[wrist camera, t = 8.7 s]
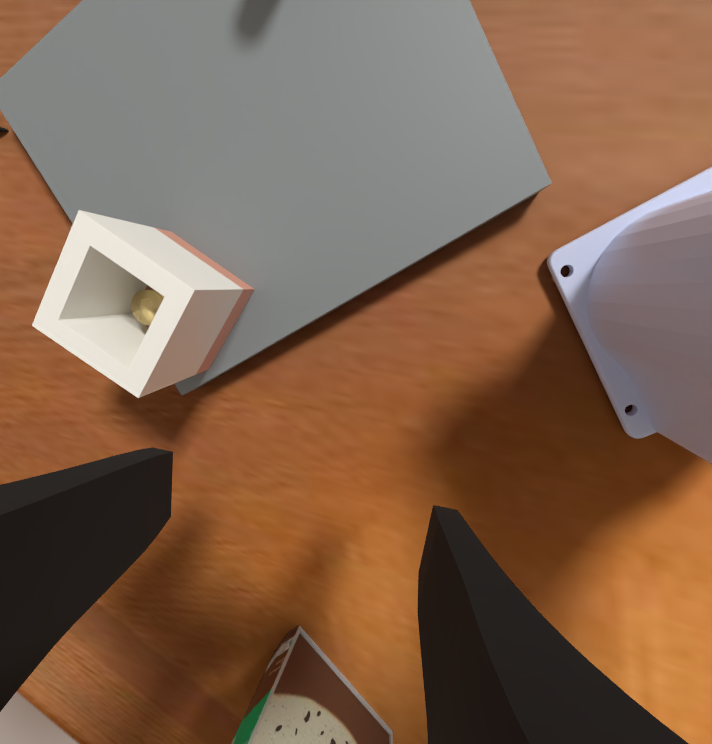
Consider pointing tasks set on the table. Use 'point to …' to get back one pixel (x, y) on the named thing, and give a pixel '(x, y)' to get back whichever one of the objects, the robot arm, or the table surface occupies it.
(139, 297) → the brass pin
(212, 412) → the table surface
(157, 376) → the sleeve
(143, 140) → the pin board
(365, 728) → the food container
